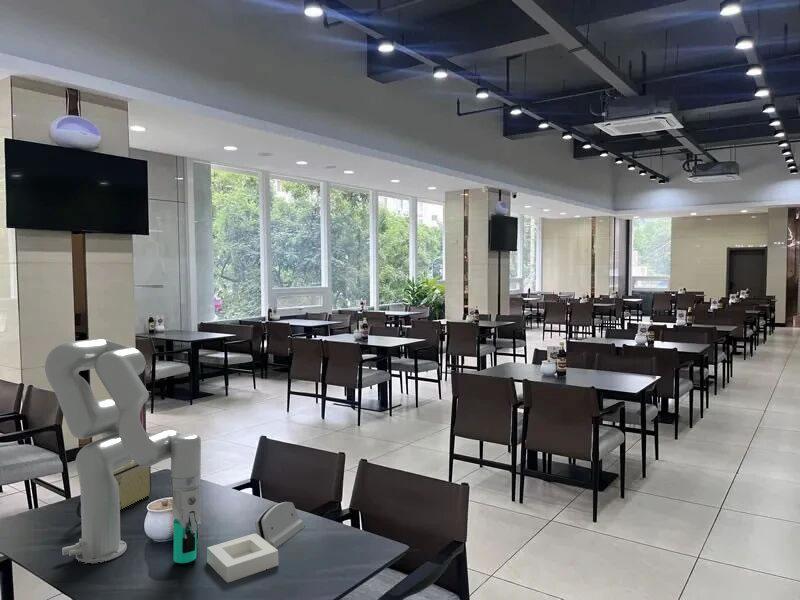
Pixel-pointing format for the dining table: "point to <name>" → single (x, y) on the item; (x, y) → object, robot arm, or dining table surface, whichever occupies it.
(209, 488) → the dining table surface
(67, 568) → the dining table surface
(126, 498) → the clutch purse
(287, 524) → the hinge
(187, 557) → the candle
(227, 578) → the candle holder
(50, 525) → the dining table surface
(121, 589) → the dining table surface
